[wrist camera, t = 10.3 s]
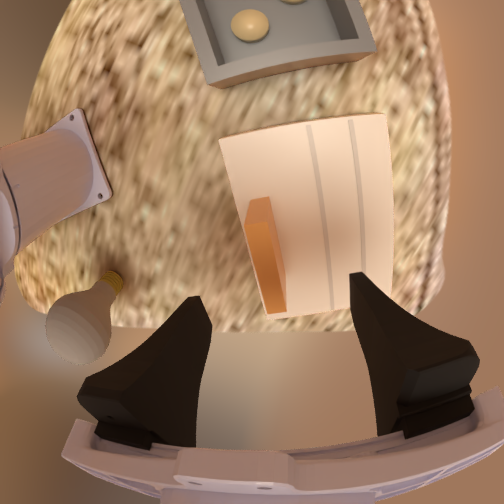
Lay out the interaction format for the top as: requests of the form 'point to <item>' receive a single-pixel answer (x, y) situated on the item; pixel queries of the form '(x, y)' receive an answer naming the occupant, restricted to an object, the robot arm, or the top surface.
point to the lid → (314, 209)
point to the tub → (274, 36)
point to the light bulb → (83, 321)
